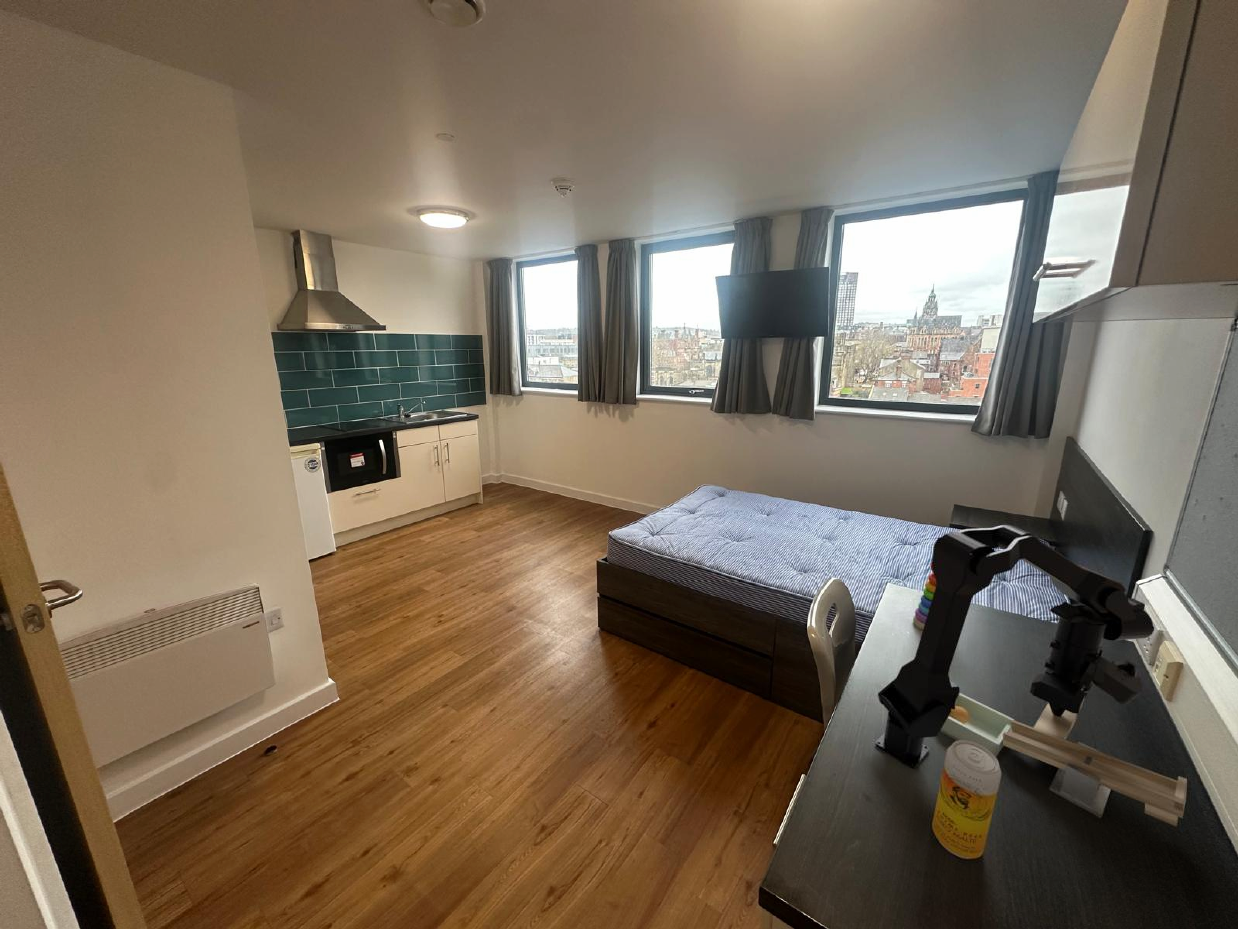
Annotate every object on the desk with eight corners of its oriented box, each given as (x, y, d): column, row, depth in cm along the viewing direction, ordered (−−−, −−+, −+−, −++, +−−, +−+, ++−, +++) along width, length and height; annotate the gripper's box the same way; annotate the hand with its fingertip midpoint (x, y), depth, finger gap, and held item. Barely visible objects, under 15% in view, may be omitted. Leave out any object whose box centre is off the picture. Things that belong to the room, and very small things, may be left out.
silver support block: (1100, 818, 72) (1110, 788, 71) (1049, 789, 77) (1056, 761, 75) (1111, 788, 77) (1119, 760, 75) (1061, 763, 81) (1069, 736, 80)
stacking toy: (949, 640, 115) (962, 569, 110) (910, 628, 120) (922, 559, 115) (951, 625, 121) (964, 557, 116) (914, 614, 126) (925, 548, 121)
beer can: (926, 840, 69) (943, 755, 65) (937, 812, 73) (953, 731, 69) (977, 873, 65) (998, 784, 61) (986, 841, 69) (1006, 755, 65)
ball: (943, 715, 90) (958, 730, 89) (954, 707, 89) (969, 722, 87) (949, 708, 92) (964, 722, 90) (960, 700, 90) (975, 715, 89)
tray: (993, 761, 82) (997, 744, 81) (935, 728, 89) (938, 712, 88) (1010, 735, 87) (1014, 719, 86) (953, 706, 94) (956, 691, 93)
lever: (1181, 830, 66) (1183, 800, 66) (1002, 754, 82) (1002, 730, 82) (1192, 766, 76) (1194, 739, 76) (1030, 710, 92) (1030, 687, 92)
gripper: (1135, 689, 71) (1108, 773, 75) (1153, 641, 82) (1129, 717, 86) (1039, 651, 80) (1019, 729, 83) (1067, 613, 90) (1048, 683, 94)
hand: (1056, 715), depth 87 cm, fingers closed, pressing on lever
